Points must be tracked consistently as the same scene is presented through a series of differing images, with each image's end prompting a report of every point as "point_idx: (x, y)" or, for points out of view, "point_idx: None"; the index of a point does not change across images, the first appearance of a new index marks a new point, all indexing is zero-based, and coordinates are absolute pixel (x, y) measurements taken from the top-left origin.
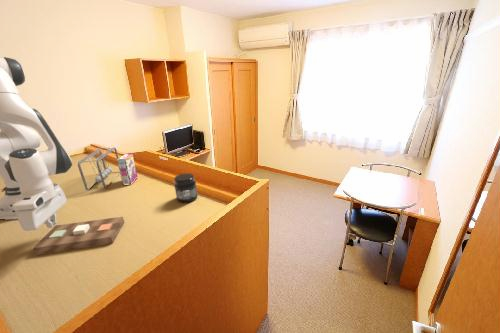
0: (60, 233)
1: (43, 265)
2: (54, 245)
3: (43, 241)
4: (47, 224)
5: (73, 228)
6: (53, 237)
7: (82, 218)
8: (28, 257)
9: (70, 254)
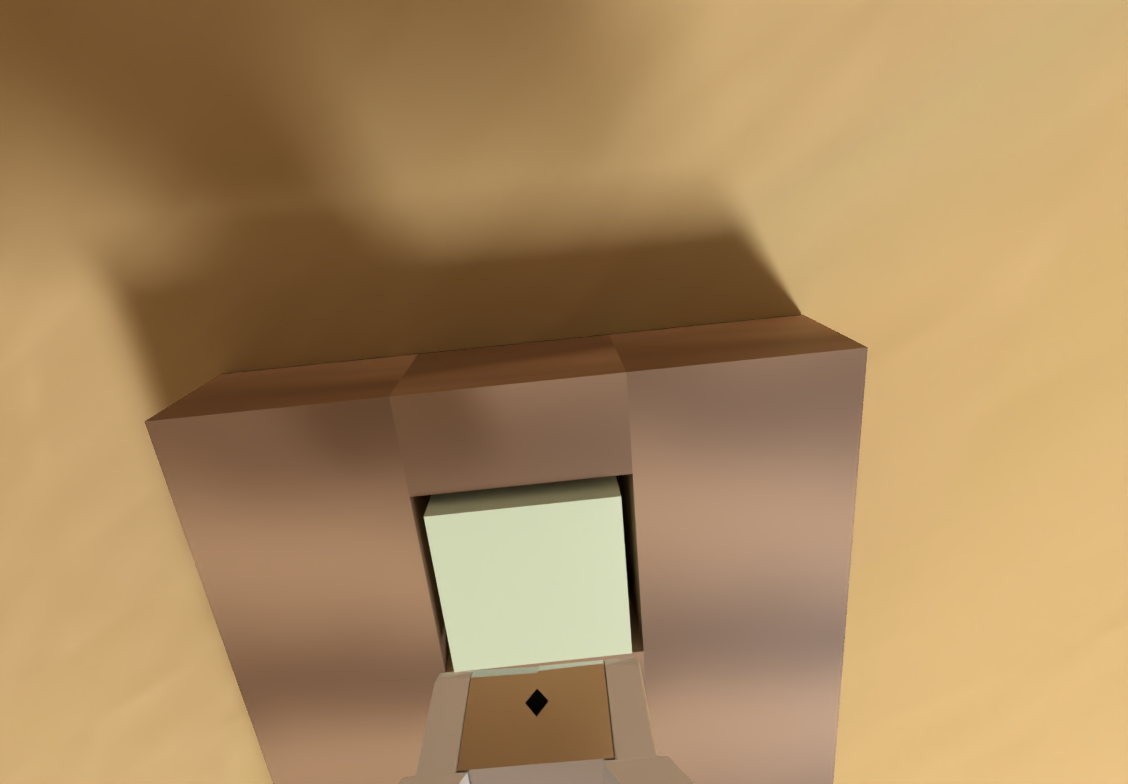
0: (525, 634)
1: (43, 614)
2: (245, 692)
3: (336, 475)
4: (426, 781)
5: (664, 711)
6: (438, 571)
7: (1105, 480)
8: (162, 300)
9: (247, 771)
